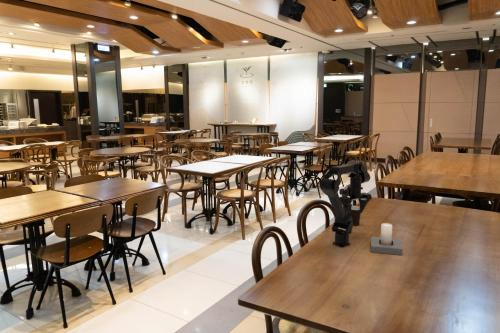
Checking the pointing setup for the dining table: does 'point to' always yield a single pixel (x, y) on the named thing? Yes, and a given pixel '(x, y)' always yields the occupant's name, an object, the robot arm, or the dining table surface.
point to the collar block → (386, 246)
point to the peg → (386, 234)
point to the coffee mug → (355, 215)
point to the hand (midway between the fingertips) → (354, 214)
